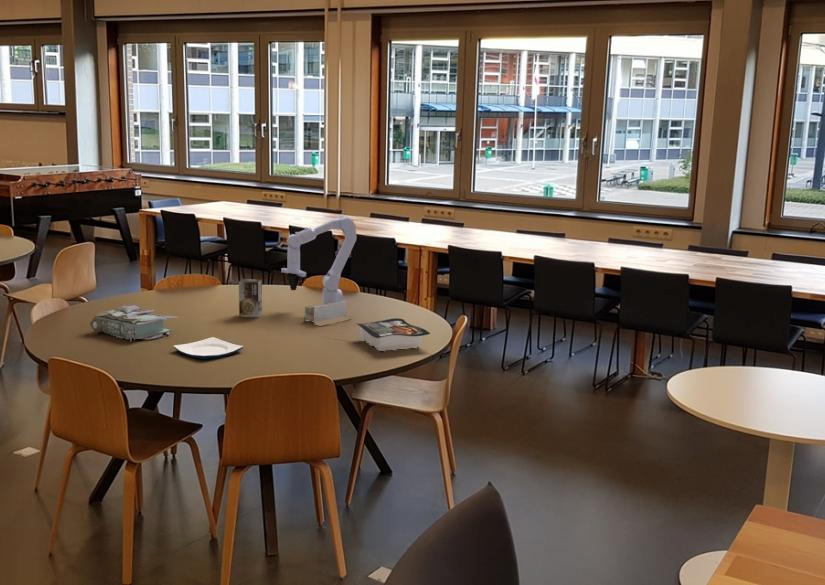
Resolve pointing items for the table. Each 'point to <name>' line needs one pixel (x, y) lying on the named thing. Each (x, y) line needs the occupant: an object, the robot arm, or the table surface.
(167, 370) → the table surface
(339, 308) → the metal bookend
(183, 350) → the plate
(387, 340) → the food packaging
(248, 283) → the coffee box
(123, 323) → the ornate clasped book
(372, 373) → the table surface
